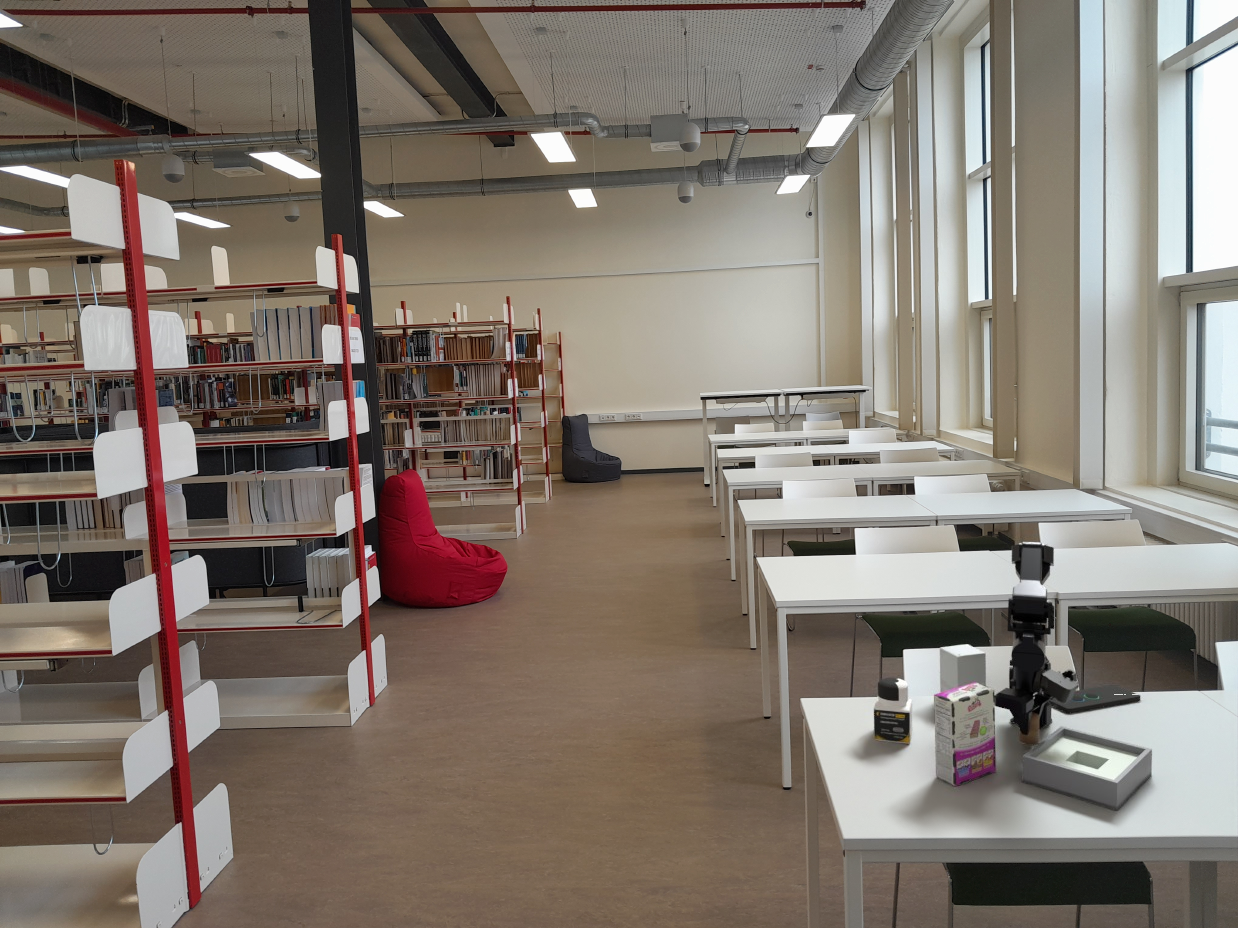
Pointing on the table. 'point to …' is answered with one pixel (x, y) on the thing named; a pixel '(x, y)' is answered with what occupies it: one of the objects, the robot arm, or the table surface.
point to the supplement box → (961, 666)
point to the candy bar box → (965, 733)
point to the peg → (1031, 732)
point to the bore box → (1087, 767)
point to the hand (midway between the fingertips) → (1029, 731)
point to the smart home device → (1095, 699)
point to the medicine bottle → (893, 712)
